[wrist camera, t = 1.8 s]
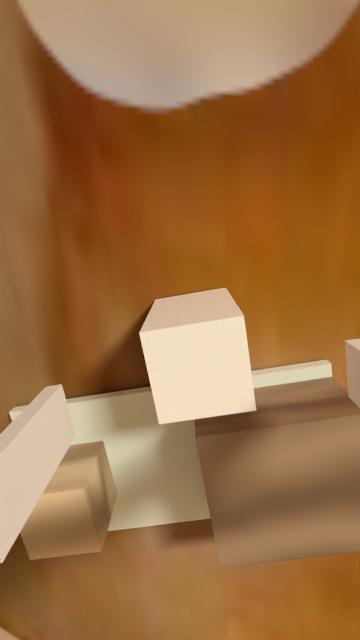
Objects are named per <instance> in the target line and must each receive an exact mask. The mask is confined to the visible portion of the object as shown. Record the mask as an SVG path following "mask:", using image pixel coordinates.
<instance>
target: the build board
mask: <svg viewBox="0 0 360 640" xmlns="http://www.w3.org/2000/svg"><path fill="white" fill-rule="evenodd" d="M251 374H252V381H253V388H259V387H266V386H273V385H279V384H286V383H293V382H299V381H306V380H313V379H320V378H326V377H332V368H331V363H330V362H329V361H328V360H321V361H314V362H308V363H301V364H294V365H288V366H281V367H275V368H268V369H262V370H255V371H251ZM66 402H67V406H68V409H69V413H70V416H71V420H72V423H73V427H74V430H75V434H76V436H75V438H74V440H73V441H72V443H71V445H76V444H83V443H90V442H97V441H103V442H104V446H105V450H106V454H107V457H108V461H109V465H110V468H111V472H112V476H113V480H114V483H115V487H116V491H117V498H116V501H115V505H114V509H113V512H112V516H111V520H110V523H109V527H108V531H113V530H121V529H130V528H138V527H146V526H154V525H162V524H170V523H178V522H186V521H195V520H203V519H211V518H210V513H209V508H208V503H207V497H206V492H205V487H204V481H203V476H202V471H201V465H200V460H199V455H198V450H197V444H196V439H195V419H193V420H186V421H179V422H173V423H166V424H159V422H158V417H157V412H156V408H155V403H154V399H153V394H152V389H151V386H150V387H143V388H137V389H130V390H124V391H117V392H111V393H104V394H98V395H91V396H84V397H78V398H71V399H66ZM27 406H28V405H25V406H19V407H14V408H13V409H12V410H11V411H10V412H9V414H10V417H11V420H12V422H13V421H14V419H15V418H16V417H17V416H18V415H19V414H20V413H21V412H22V411H23V410H24V409H25V408H26V407H27Z"/></svg>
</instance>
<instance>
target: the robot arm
mask: <svg viewBox="0 0 360 640" xmlns="http://www.w3.org/2000/svg"><path fill="white" fill-rule="evenodd" d="M345 352H346V367H347V383H348V397H349V398H350V399H351V400H352V401H353V402H354V403H355V404H356V405H357V406H358V407H359V408H360V338H359V339H352V340H346V341H345ZM75 436H76V434H75V430H74V427H73V423H72V420H71V416H70V413H69V409H68V406H67V402H66V398H65V395H64V391H63V388H62V384H61V385H54V386H48V387H45V388H44V389H43V390H42V391H41V393H40V394H39V395H38V396H37V397H36V398H35V399H34V400H33V401H32V402H31V403H30V404H29V405H28V406H27V407H26V408H25V409H24V410H23V411H22V412H21V413H20V414H19V415H18V416H17V417H16V418H15V419H14V421H13V422H12V423H11V424H10V425H9V426H8V427H7V428H6V429H5V430H4V431H3V432H2V433H1V434H0V563H3V561H4V559H5V557H6V556H7V554H8V552H9V550H10V549H11V547H12V545H13V544H14V542H15V540H16V538H17V537H18V535H19V533H20V531H21V530H22V528H23V526H24V524H25V523H26V521H27V519H28V518H29V516H30V514H31V512H32V511H33V509H34V507H35V505H36V504H37V502H38V500H39V499H40V497H41V495H42V493H43V492H44V490H45V488H46V486H47V485H48V483H49V481H50V480H51V478H52V476H53V474H54V473H55V471H56V469H57V467H58V466H59V464H60V462H61V460H62V459H63V457H64V455H65V454H66V452H67V450H68V448H69V447H70V445H71V443H72V441H73V440H74V438H75Z"/></svg>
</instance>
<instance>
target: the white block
mask: <svg viewBox="0 0 360 640" xmlns="http://www.w3.org/2000/svg"><path fill="white" fill-rule="evenodd" d="M139 334H140V339H141V343H142V348H143V353H144V357H145V362H146V366H147V371H148V376H149V380H150V385H151V389H152V394H153V399H154V403H155V408H156V412H157V417H158V422H159V424H166V423H173V422H179V421H186V420H193V419H200V418H207V417H214V416H221V415H228V414H235V413H242V412H249V411H256V404H255V396H254V389H253V381H252V374H251V366H250V359H249V351H248V344H247V336H246V329H245V321H244V315H243V314H242V312H241V311H240V309H239V307H238V306H237V304H236V303H235V301H234V300H233V298H232V297H231V295H230V294H229V292H228V290H227V289H226V288H220V289H214V290H208V291H203V292H197V293H191V294H185V295H179V296H173V297H167V298H161V299H156V300H155V301H154V303H153V306H152V308H151V310H150V312H149V314H148V316H147V318H146V320H145V322H144V324H143V326H142V328H141V330H140V332H139Z"/></svg>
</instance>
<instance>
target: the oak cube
mask: <svg viewBox="0 0 360 640" xmlns="http://www.w3.org/2000/svg"><path fill="white" fill-rule="evenodd" d="M116 498H117V491H116V487H115V483H114V480H113V476H112V472H111V468H110V465H109V461H108V457H107V454H106V450H105V446H104V442H103V441H97V442H90V443H83V444H76V445H70V447H69V448H68V450H67V452H66V454H65V455H64V457H63V459H62V460H61V462H60V464H59V466H58V467H57V469H56V471H55V473H54V474H53V476H52V478H51V480H50V481H49V483H48V485H47V486H46V488H45V490H44V492H43V493H42V495H41V497H40V499H39V500H38V502H37V504H36V505H35V507H34V509H33V511H32V512H31V514H30V516H29V518H28V519H27V521H26V523H25V524H24V526H23V528H22V530H21V531H20V535H21V537H22V540H23V543H24V545H25V548H26V551H27V554H28V556H29V559H30V560H34V559H43V558H51V557H60V556H68V555H76V554H85V553H93V552H102V549H103V546H104V542H105V538H106V534H107V531H108V527H109V523H110V520H111V516H112V512H113V509H114V505H115V501H116Z"/></svg>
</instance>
